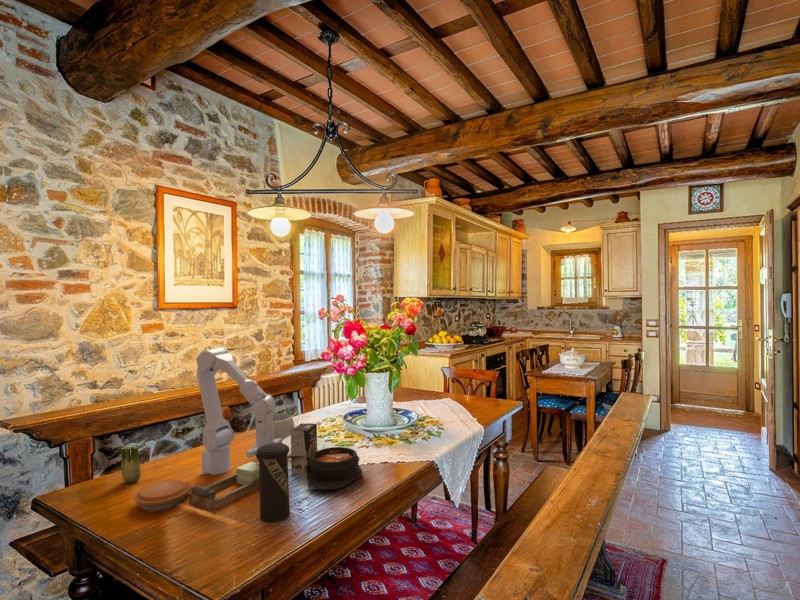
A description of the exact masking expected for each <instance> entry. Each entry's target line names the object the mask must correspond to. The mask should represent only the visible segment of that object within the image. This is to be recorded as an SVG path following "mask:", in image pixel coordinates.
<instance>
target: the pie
mask: <svg viewBox="0 0 800 600" xmlns="http://www.w3.org/2000/svg"><path fill="white" fill-rule="evenodd" d="M191 487H192V484H190V483H189V482H187V481H183V480H181V479H180V480H179V479H167V480H162V481H158V482H154V483H151V484H148V485H147V486H145V487H143V488H141V489H140V490H138V491H137V492H136V493H135V494H134V496H133V501H134V502H135V503H137V504H138V505H139V507H140V508H141V509H142V510H143V511H145V510H146V511H145V512H149V511H156V512H162V511H161V510H163V511H166V510H165V509H167V510H169V509H168V508H170V509H173V508H174V506H175V507H177V506H179V505H180V504H182V501H183V500H184V499H185V498H186V497H187V494H189V493H190V492H191ZM178 504H179V505H178ZM176 505H177V506H176ZM172 507H173V508H172Z"/></svg>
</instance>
